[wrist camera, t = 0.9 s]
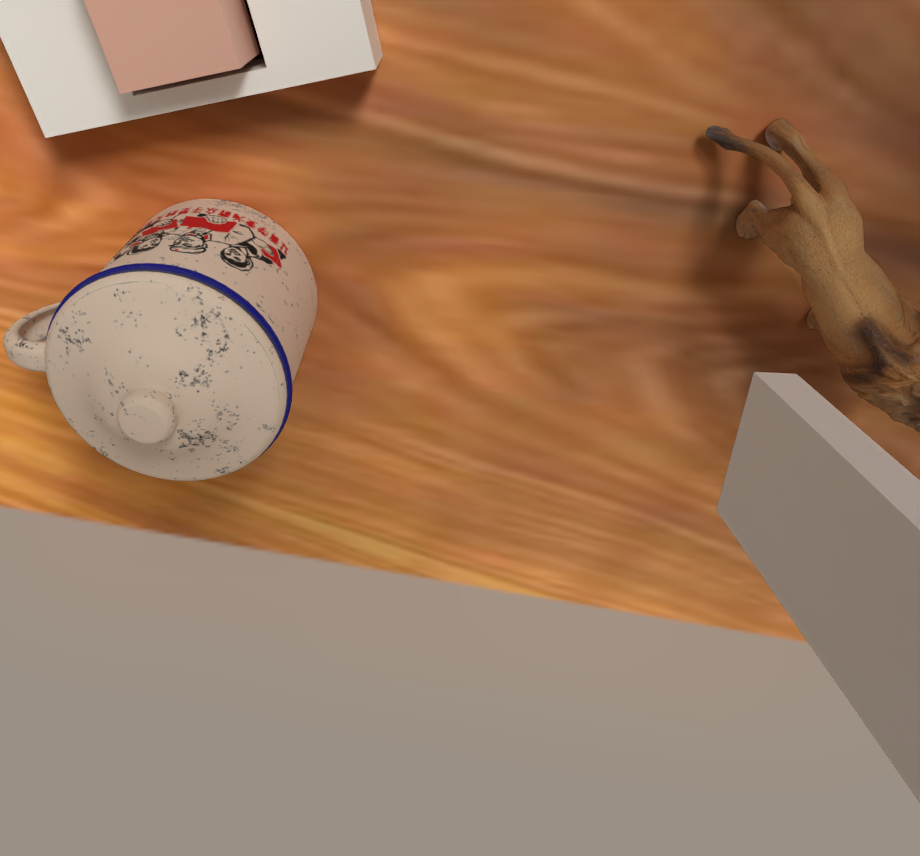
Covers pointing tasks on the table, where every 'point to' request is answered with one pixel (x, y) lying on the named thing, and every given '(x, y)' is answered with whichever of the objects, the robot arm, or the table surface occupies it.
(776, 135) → the lion figurine
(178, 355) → the teacup with lid
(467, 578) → the table surface
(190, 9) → the terracotta button
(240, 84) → the button board
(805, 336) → the table surface
